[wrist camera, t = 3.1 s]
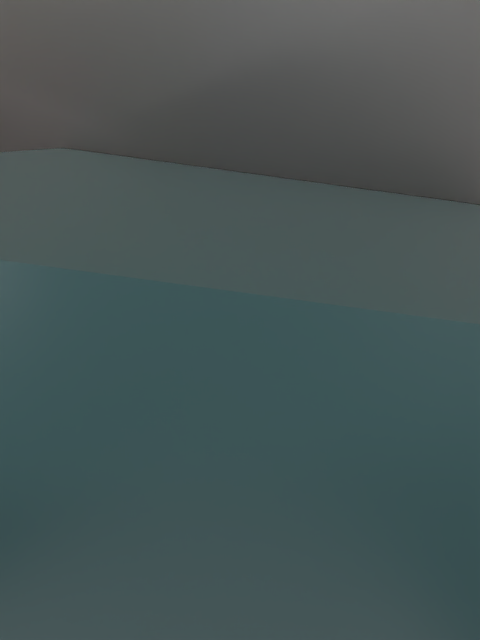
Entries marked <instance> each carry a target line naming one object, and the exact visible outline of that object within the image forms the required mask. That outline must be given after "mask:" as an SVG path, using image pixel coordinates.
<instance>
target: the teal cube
mask: <svg viewBox="0 0 480 640" xmlns="http://www.w3.org/2000/svg"><path fill="white" fill-rule="evenodd" d="M0 640H480V205H477V204H469V203H462V202H455V201H447V200H440V199H433V198H425V197H418V196H411V195H403V194H396V193H389V192H381V191H374V190H367V189H360V188H352V187H345V186H338V185H330V184H323V183H316V182H308V181H301V180H294V179H286V178H279V177H272V176H264V175H257V174H250V173H242V172H235V171H228V170H221V169H213V168H206V167H199V166H191V165H184V164H177V163H169V162H162V161H155V160H147V159H140V158H133V157H125V156H118V155H111V154H103V153H96V152H89V151H81V150H74V149H67V148H56V149H41V150H26V151H11V152H0Z"/></svg>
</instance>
